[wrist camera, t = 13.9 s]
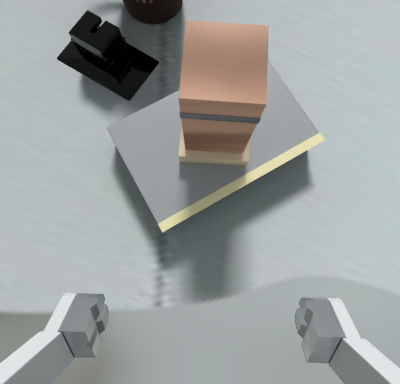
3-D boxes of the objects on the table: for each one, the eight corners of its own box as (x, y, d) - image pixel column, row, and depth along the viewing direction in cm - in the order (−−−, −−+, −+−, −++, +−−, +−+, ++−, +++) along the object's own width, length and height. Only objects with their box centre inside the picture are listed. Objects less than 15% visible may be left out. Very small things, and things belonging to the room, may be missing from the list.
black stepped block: (176, 66, 28) (172, 33, 24) (137, 120, 27) (125, 95, 23) (83, 14, 30) (63, -27, 25) (42, 62, 28) (13, 28, 24)
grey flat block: (166, 234, 24) (162, 232, 21) (116, 140, 26) (105, 126, 23) (310, 152, 26) (325, 140, 23) (253, 69, 28) (260, 48, 25)
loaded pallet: (245, 166, 22) (276, 115, 14) (179, 162, 22) (167, 107, 14) (247, 102, 24) (277, 17, 15) (185, 98, 24) (178, 10, 15)
